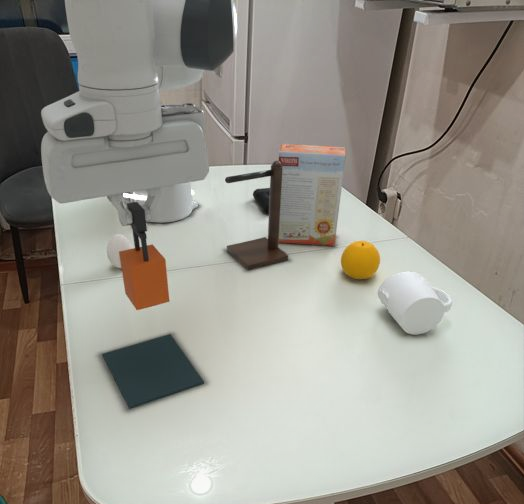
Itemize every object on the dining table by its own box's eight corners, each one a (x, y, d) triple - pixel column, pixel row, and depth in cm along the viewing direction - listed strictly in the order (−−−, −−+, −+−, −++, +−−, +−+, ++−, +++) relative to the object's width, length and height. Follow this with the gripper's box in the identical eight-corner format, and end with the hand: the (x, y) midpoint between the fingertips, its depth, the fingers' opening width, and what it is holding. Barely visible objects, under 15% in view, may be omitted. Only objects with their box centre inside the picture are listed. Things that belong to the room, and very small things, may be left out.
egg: (111, 275, 105) (106, 242, 100) (107, 263, 108) (102, 231, 104) (137, 271, 106) (133, 238, 102) (132, 259, 110) (128, 227, 105)
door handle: (343, 205, 131) (319, 179, 142) (269, 213, 126) (250, 185, 137) (341, 217, 133) (318, 191, 144) (268, 225, 128) (250, 197, 139)
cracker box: (334, 235, 122) (345, 145, 109) (334, 247, 118) (346, 154, 105) (276, 231, 123) (280, 141, 110) (274, 242, 118) (278, 150, 105)
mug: (392, 337, 91) (401, 299, 86) (374, 308, 98) (381, 271, 93) (454, 331, 93) (466, 294, 88) (432, 303, 100) (442, 267, 95)
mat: (102, 355, 84) (102, 353, 84) (170, 335, 89) (170, 333, 89) (129, 408, 75) (129, 406, 75) (204, 383, 80) (204, 381, 80)
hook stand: (216, 253, 114) (213, 161, 101) (266, 241, 119) (269, 152, 106) (237, 273, 107) (237, 177, 94) (288, 260, 112) (295, 167, 100)
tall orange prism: (125, 294, 76) (110, 203, 67) (157, 286, 78) (147, 196, 69) (136, 310, 72) (122, 217, 64) (169, 301, 74) (160, 210, 66)
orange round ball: (384, 275, 108) (390, 243, 104) (363, 288, 104) (369, 255, 99) (353, 261, 112) (358, 230, 108) (331, 274, 108) (336, 242, 103)
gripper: (194, 96, 65) (199, 200, 74) (25, 111, 57) (53, 227, 66) (215, 107, 61) (218, 216, 70) (37, 125, 53) (65, 247, 61)
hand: (137, 221), depth 68 cm, fingers closed on tall orange prism
